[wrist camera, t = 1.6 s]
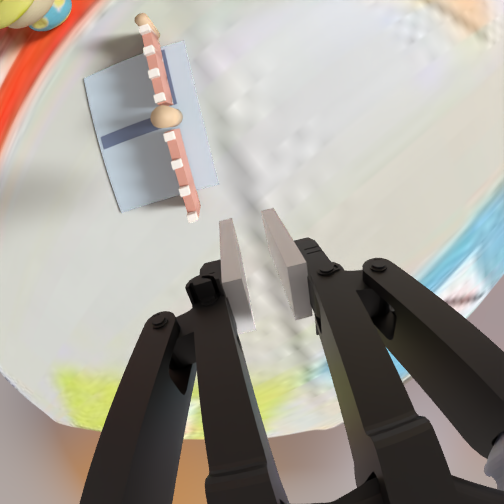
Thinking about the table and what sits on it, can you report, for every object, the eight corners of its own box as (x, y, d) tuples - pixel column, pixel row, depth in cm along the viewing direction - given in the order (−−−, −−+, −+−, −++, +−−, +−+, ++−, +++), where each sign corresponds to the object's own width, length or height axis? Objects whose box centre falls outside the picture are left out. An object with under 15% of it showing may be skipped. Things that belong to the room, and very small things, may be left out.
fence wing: (171, 130, 31) (162, 132, 25) (179, 128, 31) (171, 129, 25) (193, 207, 35) (189, 223, 30) (200, 205, 35) (197, 221, 30)
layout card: (84, 78, 26) (83, 78, 25) (184, 40, 26) (184, 40, 26) (122, 212, 35) (121, 213, 35) (219, 183, 35) (219, 184, 35)
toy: (88, -14, 18) (42, -53, 5) (79, 34, 22) (19, 6, 9) (45, 2, 17) (-9, -23, 4) (36, 49, 21) (-28, 37, 8)
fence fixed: (185, 123, 31) (176, 124, 24) (166, 129, 31) (153, 131, 24) (162, 28, 25) (150, 8, 18) (144, 34, 25) (128, 16, 18)
